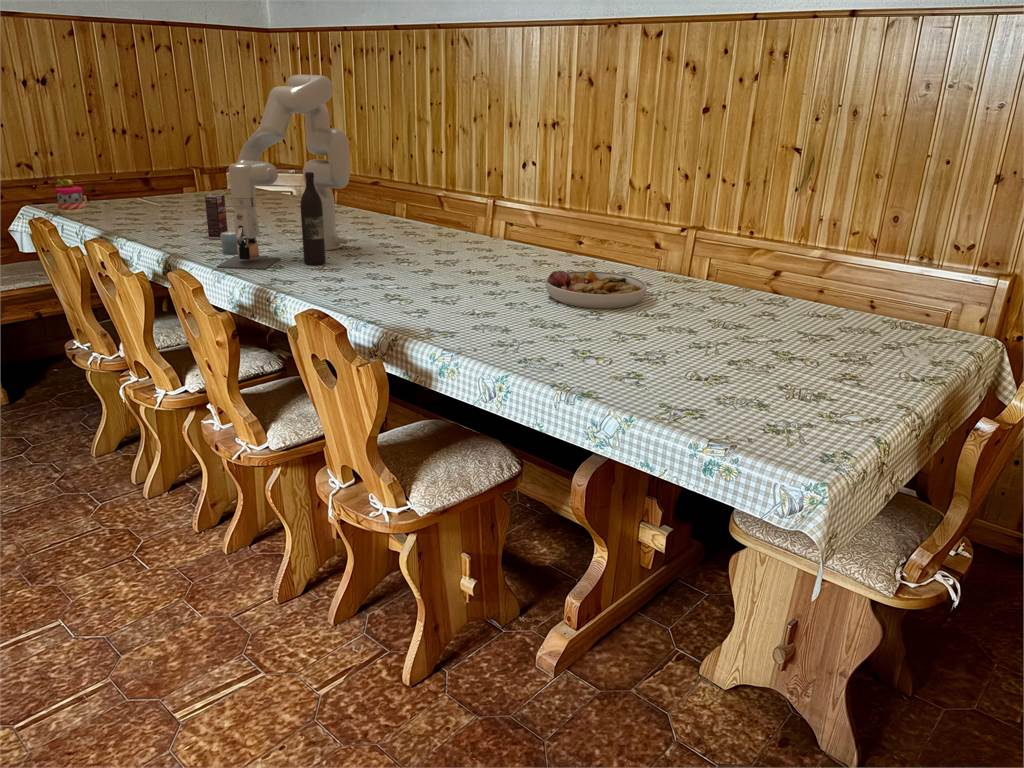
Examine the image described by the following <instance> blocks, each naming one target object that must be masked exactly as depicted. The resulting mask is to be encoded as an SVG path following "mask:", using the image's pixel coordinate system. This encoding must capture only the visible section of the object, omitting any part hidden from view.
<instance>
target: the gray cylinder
mask: <svg viewBox="0 0 1024 768" xmlns="http://www.w3.org/2000/svg"><path fill="white" fill-rule="evenodd" d="M220 241H221V250H222V254H223V255H238V248H237V244H238V241H237V239H236V233H235V231H228V232H223V233H221V239H220Z"/></svg>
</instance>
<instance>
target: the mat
mask: <svg viewBox="0 0 1024 768" xmlns="http://www.w3.org/2000/svg"><path fill="white" fill-rule="evenodd" d="M280 260H282V258H281V257H271V256H267V257H266V256H259V257H256V258H250V259H249V260H245V259H240V258H239V257H238V255H234V256H232V257H230V258H228V259H227V260H225V261H223V262H221V263H220V264H217V265H216V269H234V270H235V269H241V270H260V271H261V270H263V271H264V270H267V269H269V268H270V267H272V266H273V265H275V264H276V263H278V262H279V261H280Z"/></svg>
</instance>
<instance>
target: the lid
mask: <svg viewBox="0 0 1024 768" xmlns="http://www.w3.org/2000/svg"><path fill="white" fill-rule="evenodd" d="M248 247H249V253H250V258H256V257H260V253H259V244H258V243H250V242H248ZM237 248H238V254H237V256H238V257H239V258H240V254H239V247H238V244H237Z"/></svg>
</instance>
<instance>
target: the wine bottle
mask: <svg viewBox="0 0 1024 768" xmlns="http://www.w3.org/2000/svg"><path fill="white" fill-rule="evenodd" d="M305 178H306V185H305V189H304V191H303V193H302V196H301V198H300V218H301V219H300V220H301V235H302V246H303V247H302V249H303V250H302V251H303V261H304V262H303V263H304V264H305V265H309V266H320V265H324V264H326V250H325V244H324V226H323V208H322V201H321V198H320V196H319V194H318V193H317V191H316V189H315V186H314V173H313V172H306V173H305Z"/></svg>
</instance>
